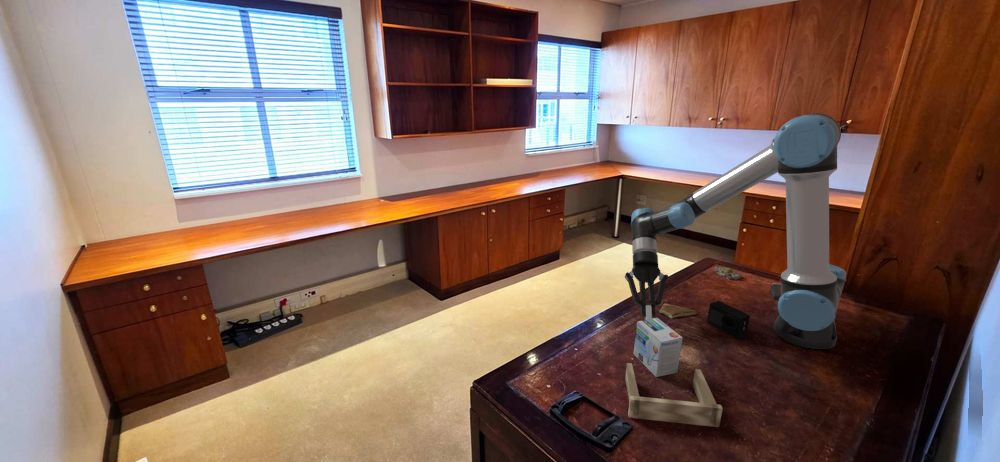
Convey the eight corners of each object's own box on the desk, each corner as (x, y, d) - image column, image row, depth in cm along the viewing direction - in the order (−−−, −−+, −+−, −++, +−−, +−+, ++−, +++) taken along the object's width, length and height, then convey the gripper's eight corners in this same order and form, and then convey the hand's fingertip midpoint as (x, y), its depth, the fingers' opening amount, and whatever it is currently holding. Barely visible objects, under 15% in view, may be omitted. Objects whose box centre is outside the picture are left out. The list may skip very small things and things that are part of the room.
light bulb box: (632, 354, 114) (636, 320, 110) (653, 349, 115) (657, 316, 112) (656, 378, 104) (661, 342, 100) (678, 373, 106) (683, 337, 102)
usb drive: (772, 301, 142) (773, 294, 141) (768, 287, 152) (769, 280, 151) (790, 304, 139) (791, 297, 139) (785, 290, 150) (786, 283, 149)
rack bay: (700, 386, 100) (703, 369, 99) (719, 427, 88) (722, 408, 87) (622, 379, 104) (623, 362, 102) (628, 417, 91) (630, 399, 90)
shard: (697, 315, 134) (698, 310, 133) (693, 325, 128) (694, 320, 127) (663, 306, 139) (664, 301, 139) (658, 316, 134) (658, 311, 133)
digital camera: (703, 323, 128) (706, 303, 126) (715, 319, 130) (718, 300, 128) (733, 340, 119) (737, 319, 117) (746, 335, 121) (750, 315, 119)
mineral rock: (747, 272, 159) (736, 271, 155) (744, 283, 159) (732, 282, 155) (722, 264, 168) (710, 262, 164) (719, 274, 169) (707, 273, 165)
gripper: (663, 259, 131) (669, 332, 121) (622, 258, 133) (624, 329, 123) (669, 250, 124) (675, 326, 114) (625, 248, 127) (627, 323, 116)
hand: (648, 328), depth 118 cm, fingers closed
